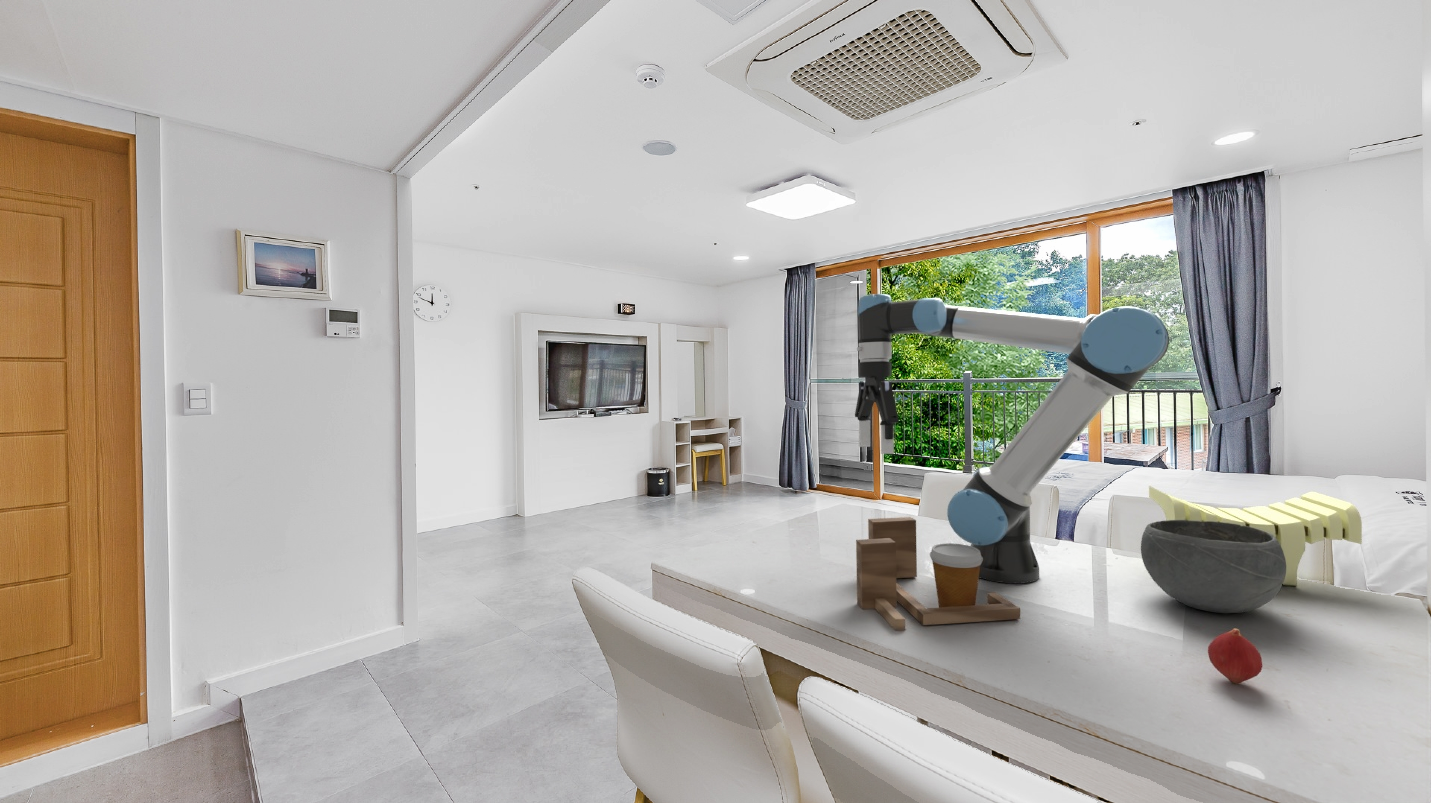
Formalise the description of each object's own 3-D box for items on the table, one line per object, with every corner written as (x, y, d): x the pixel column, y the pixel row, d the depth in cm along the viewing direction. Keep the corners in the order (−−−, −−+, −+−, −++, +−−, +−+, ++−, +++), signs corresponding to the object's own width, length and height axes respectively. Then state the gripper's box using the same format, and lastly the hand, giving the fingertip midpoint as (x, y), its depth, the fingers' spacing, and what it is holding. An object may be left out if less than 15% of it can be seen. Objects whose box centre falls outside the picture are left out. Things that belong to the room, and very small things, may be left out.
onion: (1197, 673, 85) (1197, 620, 84) (1232, 670, 85) (1232, 618, 85) (1236, 694, 79) (1236, 638, 79) (1273, 691, 79) (1274, 635, 79)
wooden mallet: (857, 603, 115) (856, 539, 114) (890, 601, 115) (889, 538, 115) (881, 631, 102) (880, 559, 101) (919, 628, 102) (918, 557, 102)
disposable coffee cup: (989, 622, 104) (988, 558, 104) (934, 619, 106) (933, 556, 106) (976, 602, 113) (976, 543, 113) (926, 600, 115) (925, 541, 115)
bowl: (1283, 602, 109) (1283, 526, 109) (1289, 641, 94) (1290, 551, 94) (1147, 579, 124) (1147, 511, 123) (1133, 609, 108) (1133, 531, 108)
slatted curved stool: (1174, 580, 123) (1174, 498, 122) (1149, 558, 138) (1149, 485, 137) (1360, 595, 112) (1361, 506, 111) (1311, 570, 127) (1312, 491, 126)
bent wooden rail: (869, 574, 130) (868, 518, 130) (947, 570, 132) (946, 515, 131) (922, 625, 103) (921, 554, 103) (1020, 618, 105) (1019, 549, 104)
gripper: (841, 362, 146) (842, 444, 147) (881, 359, 122) (881, 457, 123) (869, 362, 147) (870, 443, 148) (914, 358, 123) (914, 456, 123)
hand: (875, 450), depth 135 cm, fingers open, 13 cm apart
